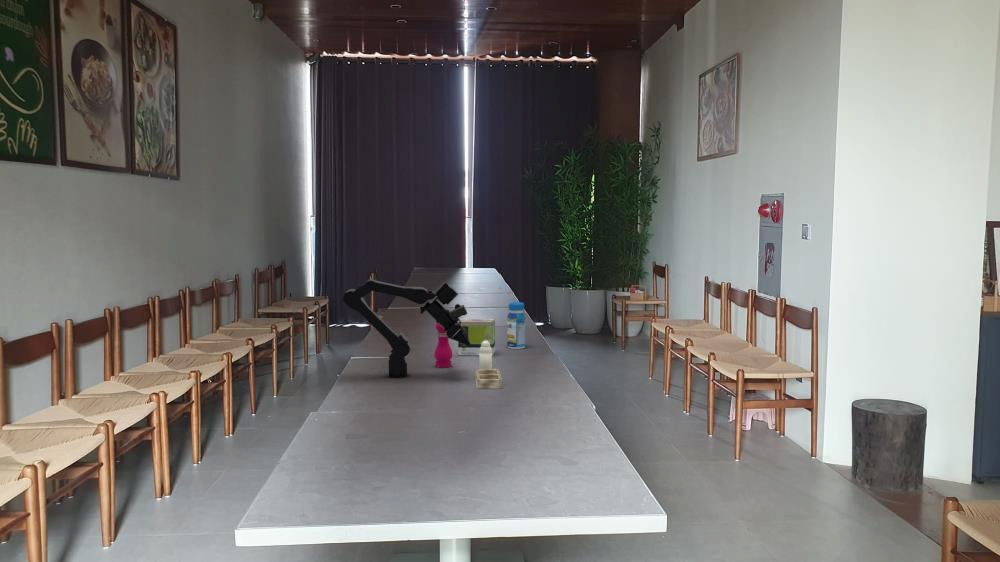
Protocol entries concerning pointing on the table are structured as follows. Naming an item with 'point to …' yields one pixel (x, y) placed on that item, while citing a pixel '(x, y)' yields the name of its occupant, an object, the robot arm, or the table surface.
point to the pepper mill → (442, 348)
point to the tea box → (477, 335)
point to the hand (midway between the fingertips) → (468, 342)
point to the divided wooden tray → (488, 379)
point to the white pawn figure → (485, 356)
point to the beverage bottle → (516, 326)
